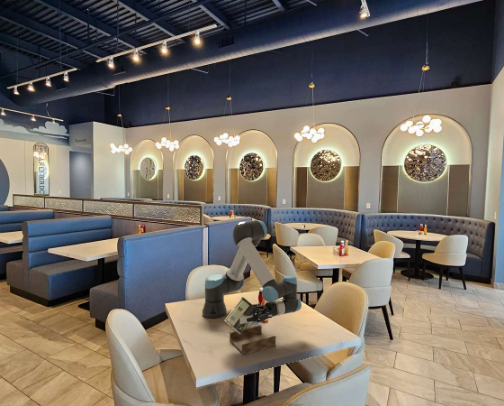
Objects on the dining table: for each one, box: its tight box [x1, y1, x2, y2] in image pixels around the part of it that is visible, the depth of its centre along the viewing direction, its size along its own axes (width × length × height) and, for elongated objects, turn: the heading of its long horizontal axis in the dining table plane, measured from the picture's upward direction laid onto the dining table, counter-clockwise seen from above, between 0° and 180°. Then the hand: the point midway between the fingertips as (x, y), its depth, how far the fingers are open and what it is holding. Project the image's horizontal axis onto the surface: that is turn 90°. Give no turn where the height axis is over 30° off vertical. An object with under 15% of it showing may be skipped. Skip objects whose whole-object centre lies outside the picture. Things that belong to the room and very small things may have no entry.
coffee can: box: [224, 296, 258, 334], centre depth 145 cm, size 10×10×14 cm
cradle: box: [229, 324, 277, 356], centre depth 149 cm, size 18×15×4 cm
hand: (235, 316), depth 144 cm, fingers closed on coffee can, 10 cm apart
